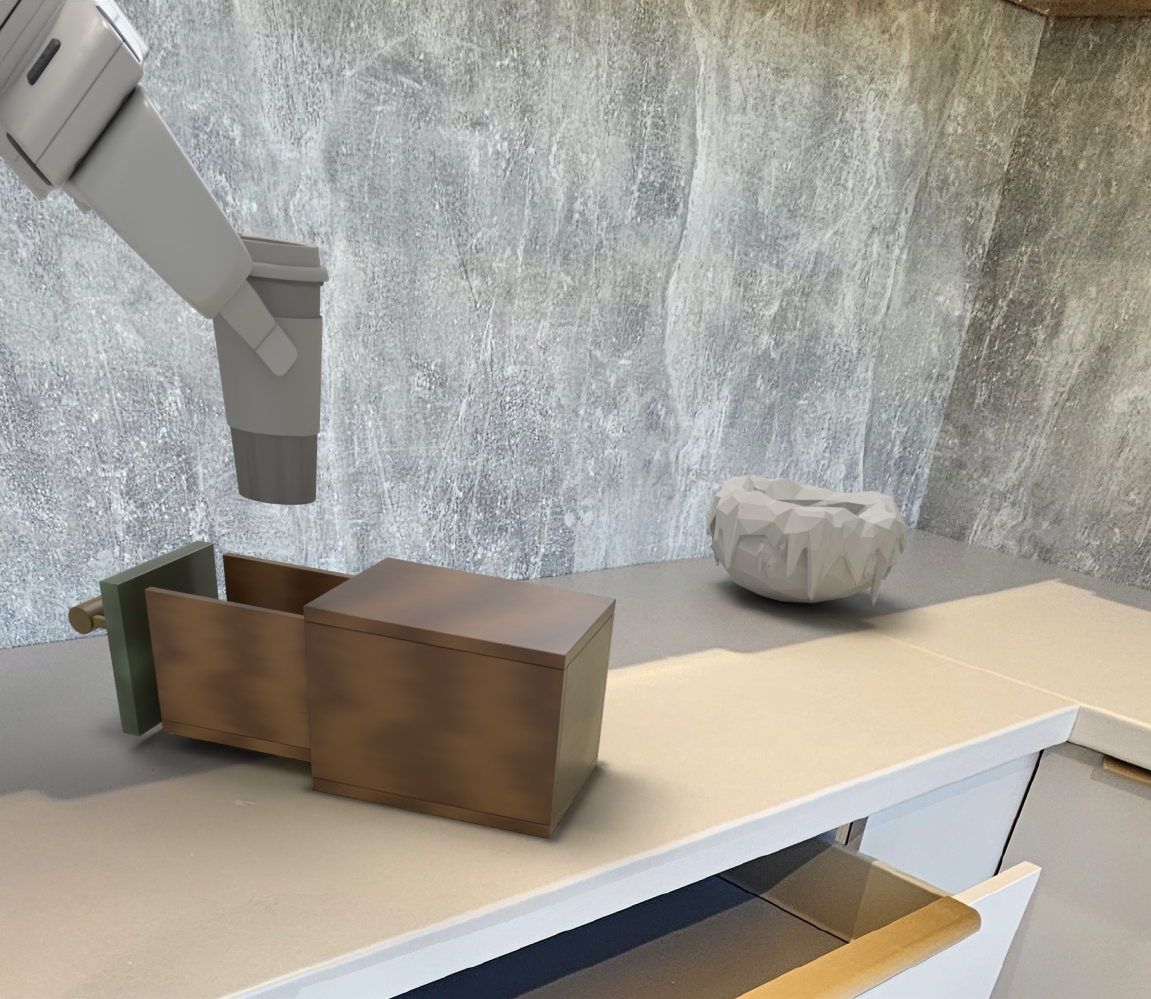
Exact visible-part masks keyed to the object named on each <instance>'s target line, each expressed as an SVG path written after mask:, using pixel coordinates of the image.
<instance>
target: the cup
mask: <svg viewBox="0 0 1151 999" xmlns="http://www.w3.org/2000/svg"><path fill="white" fill-rule="evenodd" d="M237 233H238V235H239V236H240V238H241V240H242V242H243V243H244V245H245V247H246V249H247V251H248V253H249V255H250V257H251V259H252V262H253V268H252V271H251V273H250V274H249V276H248V277H247V278H246V280H247V281H248V283H249V284H250V285H251V286H252V288H253V289H254V290H255V291H256V293H257V294H258V296H259V297H260V299H261V300H262V302H263V303H264V305H265V306H266V308H267V309H268V311H269V312H270V314H271V315H272V317H273V318H274V320H275V321H276V323H277V324H278V326H279V327H280V328H281V329H282V331H283V332H284V333H285V334H286V336H287V337H288V338H289V340H290V341H291V342H292V343H293V345H294V346H295V347H296V349H297V352H298V358H297V361H296V362H295V363H294V365H293V366H292V367H291V368H290V369H289V371H288V372H287V373H286V374H285V375H284V376H281V377H278V376H276V375H274V374H273V373H272V372H271V370H270V369H269V368H268V367H267V366H266V364H265V363H264V362H263V361H262V360H261V358H260V357H259V356H258V355H257V354H256V352H255V351H254V350H253V349H252V348H251V347H250V346H249V345H248V344H247V343H246V342H245V341H244V340H243V338H242V337H241V336H240V335H239V334H238V333H237V332H236V331H235V330H234V329H233V328H232V327H231V326H230V325H229V324H228V323H227V321H226V320H225V319H224V318H223V317H222V315H221V314H220V313H218V314H217V316H216V317H215V318H213V319H212V324H213V325H212V326H213V332H214V340H215V347H216V348H215V349H216V355H217V361H218V368H219V369H218V370H219V375H220V383H221V389H222V390H221V392H222V399H223V405H224V411H225V419H226V424H227V426H229V430H230V438H231V444H232V445H231V446H232V452H233V459H234V460H233V461H234V468H235V474H236V482H237V490H238V494H239V496H241V497H243V498H245V499H247V500H250V501H254V502H257V503H263V504H270V505H281V506H283V505H284V506H301V505H308V504H312V503H315V502H316V500H317V475H318V474H317V473H318V434H320V432H321V406H322V405H321V404H322V401H321V398H322V365H323V364H322V360H323V320H324V318H323V316H322V315H321V287H323V286H325V285H324V284H325V283H326V282H329V281H330V276H329V272H328V269H327V267H326V266H325V265H323V264H321V258H320V249H319V245H316V244H314V243H309V242H304V241H299V240H292V239H286V238H279V237H272V236H266V235H265V236H264V235H258V234H257V235H256V234H249V233H239V232H237Z"/></svg>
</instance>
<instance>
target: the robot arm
mask: <svg viewBox="0 0 1151 999" xmlns="http://www.w3.org/2000/svg"><path fill="white" fill-rule="evenodd" d="M150 53H151V49H150V47H149V45H148V43H147V42H146V40H144V38H143V37H142V35H141V34H140V33H139V31H138V29H136V28H135V26H134V24H132V22H131V20H130V19H129V18H128V17H127V15H126V14H125V13H124V11H123V10H122V9H121V7H120V6H119V4H118V3H117V2H116V1H115V0H0V158H1V159H2V160H3V161H4V162H5V163H6V164H7V166H9V168H10V169H11V171H13V172H14V174H15V175H16V176H17V177H18V178H19V179H20V180H21V182H22V183H23V184H24V185H25V186H26V188H28V190H29V191H30V192H31V193H32V194H33V196H35V198H36V199H37V200H38V201H41V202H42V201H44V200H45V199H46V198H47V196H48V195H49V194H50V193H51V192H53V191H56V190H59V189H62V191H63V192H64V193H65V194H66V195H67V196H68V197H69V199H73V204H74V205H75V206H76V207H77V208H78V209H79V210H80V211H81V213H82V214H84V215H87V214H89V213H90V212H91V211H92V212H94V213H95V214H96V215H97V216H98V217H99V218H100V219H101V220H102V221H103V222H104V223H105V224H106V225H107V226H108V227H109V228H110V229H112V231H114V233H115V234H116V235H117V236H119V238H121V240H123V241H124V243H126V245H127V246H128V247H130V248H131V249H132V251H134V253H135V254H136V255H137V256H139V258H140V259H142V260H143V262H145V264H147V265H148V266H149V268H150V269H151V270H152V271H154V273H155V274H157V275H158V276H159V277H160V278H161V280H163V281H164V282H165V283H166V284H167V285H168V286H169V287H170V288H171V290H173V291H174V292H175V293H176V294H177V295H178V296H179V297H180V298H181V299H182V300H183V301H185V302H186V303H187V304H188V305H189V306H190V307H191V308H192V309H193V310H195V311H196V312H197V313H198V314H199V315H200V316H202V317H203V318H205V319H207V320H213V318H215V317H216V316H217V314H218V313H220V314H221V315H222V317H223V318H224V319H225V320H226V321H227V323H228V324H229V325H230V326H231V327H232V328H233V329H234V330H235V331H236V332H237V333H238V334H239V335H240V336H241V337H242V338H243V340H244V341H245V342H246V343H247V344H248V345H249V346H250V347H251V348H252V349H253V350H254V351H255V352H256V354H257V355H258V356H259V357H260V358H261V360H262V361H263V362H264V363H265V364H266V366H267V367H268V368H269V369H270V370H271V372H272V373H273V374H274V375H276V376H278V377H281V376H284V375H285V374H286V373H287V372H288V371H289V369H290V368H291V367H292V366H293V365H294V363H295V362H296V361H297V358H298V352H297V349H296V347H295V346H294V345H293V343H292V342H291V341H290V340H289V338H288V337H287V336H286V334H285V333H284V332H283V331H282V329H281V328H280V327H279V326H278V324H277V323H276V321H275V320H274V318H273V317H272V315H271V314H270V312H269V311H268V309H267V308H266V306H265V305H264V303H263V302H262V300H261V299H260V297H259V296H258V294H257V293H256V291H255V290H254V289H253V288H252V286H251V285H250V284H249V283H248V281H247V280H246V278H247V277H248V276H249V274H250V273H251V271H252V268H253V262H252V259H251V257H250V255H249V253H248V251H247V249H246V247H245V245H244V243H243V242H242V240H241V238H240V236H239V235H238V233H239V232H237V230H236V228H235V226H234V225H233V223H232V221H231V220H230V219H229V217H228V215H227V214H226V212H225V210H224V209H223V207H222V206H221V205H220V203H219V201H218V200H217V198H216V196H215V195H214V194H213V192H212V190H211V189H210V188H209V185H208V184H207V183H206V181H205V180H204V178H203V176H202V175H201V174H200V172H199V170H198V169H197V167H196V166H195V165H194V162H193V160H191V158H190V157H189V155H188V154H187V152H186V151H185V149H184V148H183V146H182V144H181V143H180V142H179V139H177V136H176V135H175V134H174V132H173V131H172V129H171V128H170V126H169V125H168V123H167V121H166V120H165V118H164V117H163V115H162V114H163V106H161V104H160V103H159V102H158V101H157V99H156V98H155V96H153V95H152V94H150V90H149V89H148V88H147V86H146V85H145V84H144V83H143V81H142V79H143V77H144V65H145V63H146V60H147V59H148V57H149V56H150Z"/></svg>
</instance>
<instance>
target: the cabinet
mask: <svg viewBox="0 0 1151 999" xmlns="http://www.w3.org/2000/svg"><path fill="white" fill-rule="evenodd" d="M616 604H617V599H616V598H614V597H611V596H610V597H609V596H604V595H599V594H593V593H588V592H581V591H576V590H571V589H566V588H560V587H554V586H548V585H543V584H538V583H532V582H528V581H527V582H526V581H521V580H515V579H509V578H505V577H500V576H493V575H489V574H482V573H477V572H471V571H466V570H462V569H461V570H460V569H455V568H449V567H443V566H438V565H432V564H427V563H421V562H416V561H412V560H411V561H410V560H406V559H400V558H393V557H389V556H388V557H384V558H383V559H381V560H380V561H378V562H376V563H375V564H373V565H371V566H369V567H368V568H366V569H364V570H363V571H361V572H359V573H357V574H356V575H355V576H354V577H352V578H351V579H349V580H347V581H346V582H344V583H342V584H340V585H339V586H337V587H335V588H334V589H332V590H330V591H328V592H327V593H325V594H323V595H322V596H320V597H318V598H316V599H315V600H313V601H311V602H310V603H308V604H306V605H304V607H303V610H304V621H305V622H304V628H305V648H306V668H307V687H308V707H309V727H310V747H311V762H310V763H311V764H310V765H311V766H310V767H311V777H312V778H311V784H312V785H311V786H312V787H311V788H312V790H313V791H318V792H322V793H327V794H332V795H337V796H341V797H346V798H351V799H356V800H361V801H366V802H370V803H376V804H380V805H384V806H390V807H396V808H400V809H405V810H409V811H410V810H411V811H414V812H420V813H425V814H430V815H433V816H438V817H444V818H448V819H452V820H453V819H454V820H459V821H463V822H468V823H473V824H477V825H478V824H479V825H483V826H488V827H493V828H497V829H502V830H508V831H513V832H517V833H522V834H528V835H531V836H537V837H542V838H546V839H549V838H550V836H551V835H552V834H553V832H554V830H555V829H556V828H557V826H558V824H559V823H560V821H561V820H562V818H563V817H564V816H565V814H566V812H567V811H568V809H569V808H570V807H571V805H572V803H573V802H574V800H575V799H576V797H577V796H578V794H579V793H580V791H581V789H582V788H583V786H584V785H585V783H586V782H587V781H588V779H589V777H590V775H591V774H592V772H593V771H594V770H595V768H596V766H597V765H598V759H599V753H600V751H599V750H600V743H601V733H602V726H603V717H604V709H605V700H606V690H607V681H608V674H609V665H610V656H611V649H612V648H611V647H612V639H613V630H614V621H615V611H616Z"/></svg>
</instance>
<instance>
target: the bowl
mask: <svg viewBox="0 0 1151 999" xmlns="http://www.w3.org/2000/svg"><path fill="white" fill-rule="evenodd" d="M705 519H706V521H707V524H706V535H707V536H710V537H711V544H710V548H711V550H712V553H713V556H714V561H715V565H716V566H717V567H718V566H720V564H721V565H722V566H723V568H724V569H725V571H726V572H727V574H728V575H729V576H730V577H731V578H732V580H733V581H734V583H735V584H737V585H738V586H740V587H743V588H744V589H747V590H748V591H750V592H753V593H755V594H756V595H759V596H760V597H766V598H768V599H771V600H775V601H779V602H785V603H797V604H798V603H800V604H817V603H821V602H827V601H831V600H837V599H843V598H849V597H851V596H853V595H856V594H859V593H860V592H862V591H865V590H867V589H870V601H871V603H872V607H874V606H875V605H876V601H877V599H878V595H879V592H880V589H881V586H882V583H883V582H884V581H885V580H886V579H887V577H888V575H889V574H890V573H891V570H892V568H893V567H894V566H896V564H897V563H898V554H899V553H900V555H903V553H904V551H905V549H907V526H906V524H905V520H904V519H903V517H902V514H901V511H900V509H899V507H898V505H897V504H896V501H895V499H894V497H893V496H890V495H887V494H884V493H880V492H878V491H874V490H868V491H867V490H866V491H860V492H856V493H853V492H852V493H851V492H842V491H835V490H831V489H827V488H823V487H819V486H814V485H808V484H803V483H800V482H798V481H795V480H793V479H791V478H789V477H779V478H778V477H777V478H766V477H764V476H759V475H757V474H745V475H739V476H735V477H734V476H733V477H730V478H728V479H727V480H725V482H724V483H722V484H721V485H720V488H719V490H718V491H717V493H716V494H715V495H714V500H713V502H712V504H711V505H710V507H709V509H708V511H707V512H706V515H705Z"/></svg>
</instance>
